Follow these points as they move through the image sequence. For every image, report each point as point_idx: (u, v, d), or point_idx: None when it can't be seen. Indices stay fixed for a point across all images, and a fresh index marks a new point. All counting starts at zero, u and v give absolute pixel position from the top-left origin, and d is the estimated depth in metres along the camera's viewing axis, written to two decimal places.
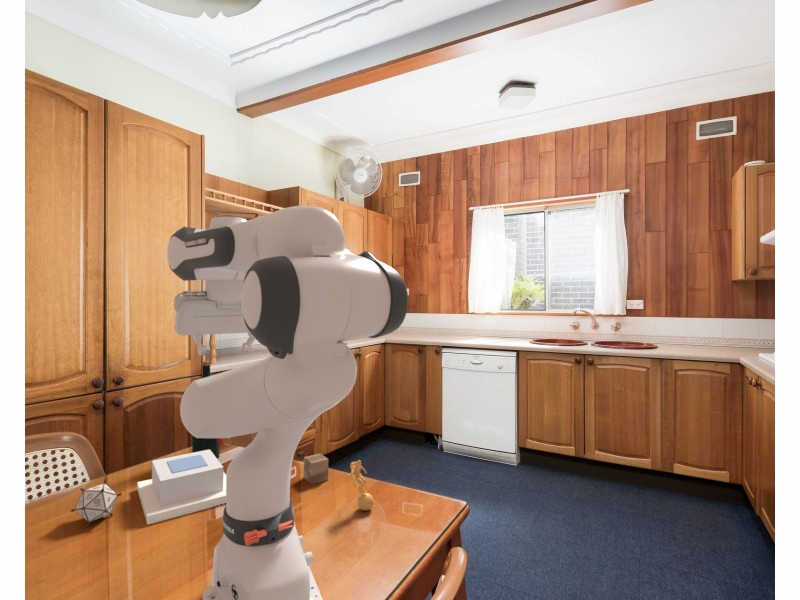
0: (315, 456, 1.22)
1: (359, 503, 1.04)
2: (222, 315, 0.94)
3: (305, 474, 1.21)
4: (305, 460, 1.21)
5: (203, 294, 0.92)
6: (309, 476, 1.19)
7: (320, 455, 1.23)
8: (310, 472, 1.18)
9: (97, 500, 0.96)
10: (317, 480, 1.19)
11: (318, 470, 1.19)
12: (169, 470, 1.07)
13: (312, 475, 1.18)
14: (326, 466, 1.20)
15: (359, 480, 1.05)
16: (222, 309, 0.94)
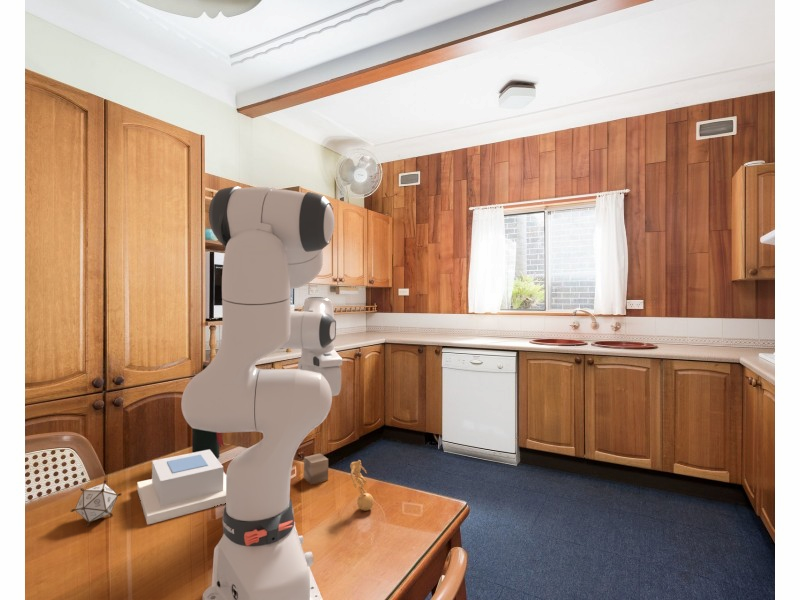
0: (315, 456, 1.22)
1: (359, 503, 1.04)
2: None
3: (305, 474, 1.21)
4: (305, 460, 1.21)
5: None
6: (309, 476, 1.19)
7: (320, 455, 1.23)
8: (310, 472, 1.18)
9: (97, 500, 0.96)
10: (317, 480, 1.19)
11: (318, 470, 1.19)
12: (169, 470, 1.07)
13: (312, 475, 1.18)
14: (326, 466, 1.20)
15: (359, 480, 1.05)
16: (310, 368, 1.20)
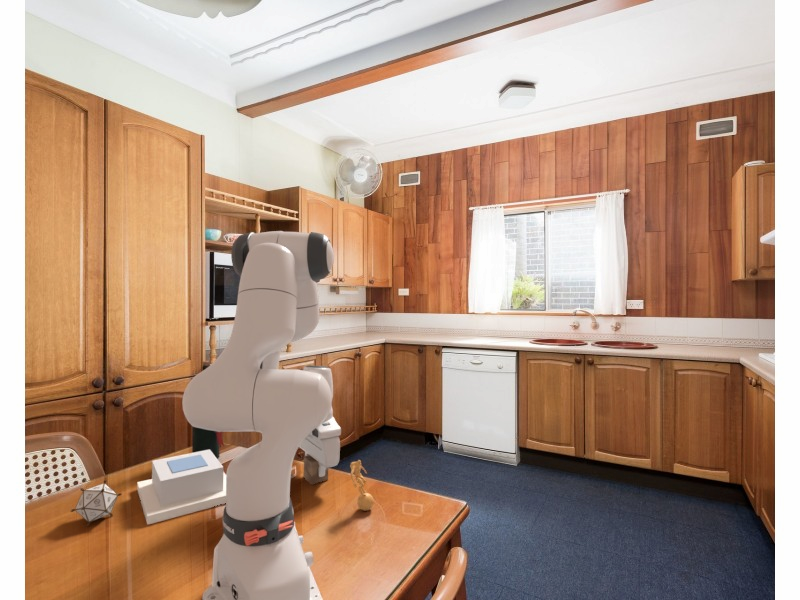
0: None
1: (359, 503, 1.04)
2: (309, 440, 1.21)
3: (305, 474, 1.21)
4: (305, 460, 1.21)
5: None
6: (309, 476, 1.19)
7: None
8: (310, 472, 1.18)
9: (97, 500, 0.96)
10: (317, 480, 1.19)
11: None
12: (169, 470, 1.07)
13: (312, 475, 1.18)
14: None
15: (359, 480, 1.05)
16: None
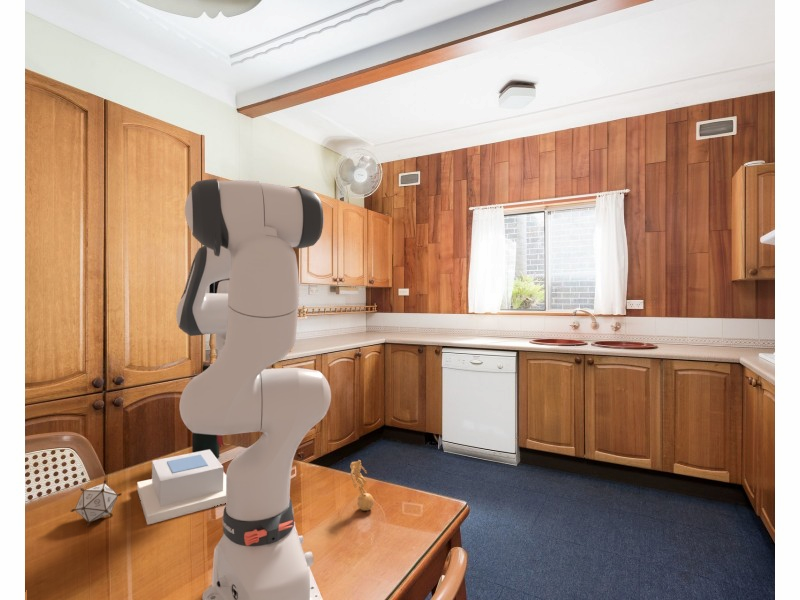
0: None
1: (359, 503, 1.04)
2: None
3: None
4: None
5: None
6: None
7: None
8: None
9: (97, 500, 0.96)
10: None
11: None
12: (169, 470, 1.07)
13: None
14: None
15: (359, 480, 1.05)
16: None
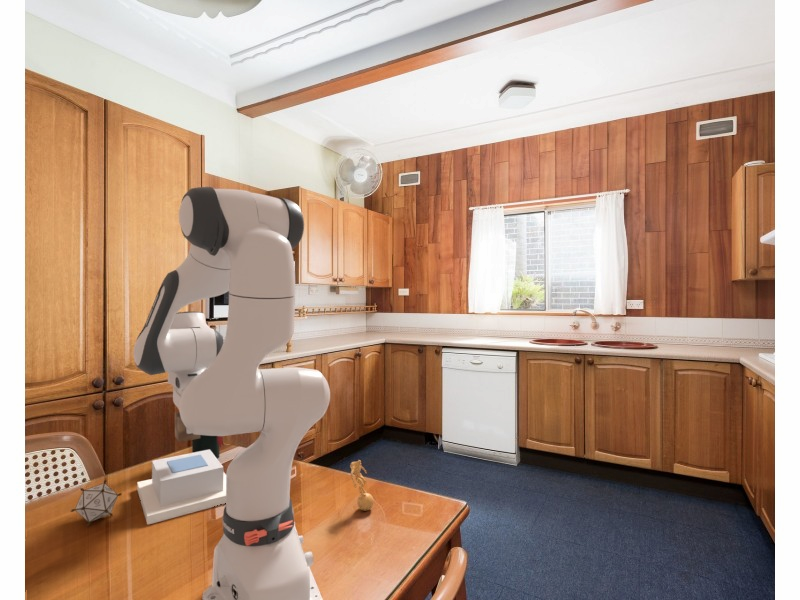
0: None
1: (359, 503, 1.04)
2: (180, 395, 1.10)
3: (175, 431, 1.10)
4: (175, 416, 1.10)
5: None
6: (177, 433, 1.08)
7: None
8: (178, 428, 1.07)
9: (97, 500, 0.96)
10: (186, 437, 1.08)
11: None
12: (169, 470, 1.07)
13: (180, 431, 1.07)
14: None
15: (359, 480, 1.05)
16: None
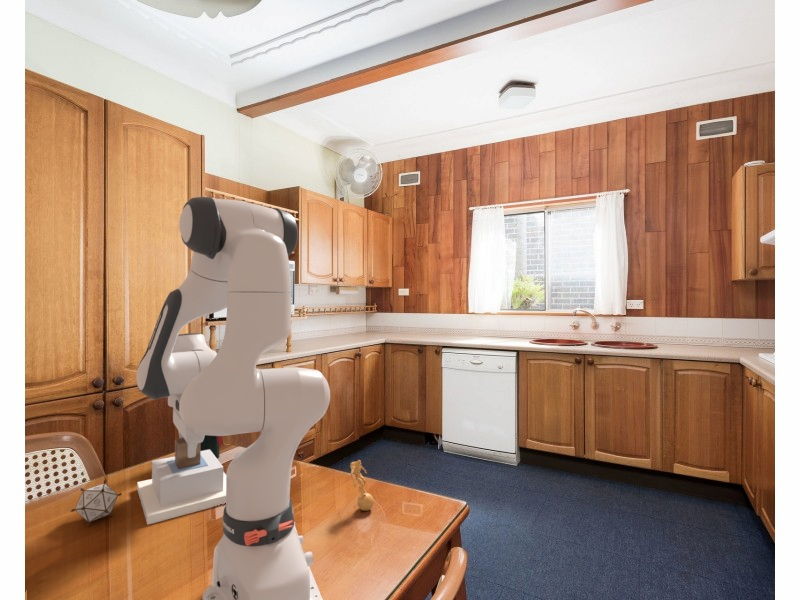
0: None
1: (359, 503, 1.04)
2: (179, 416, 1.10)
3: (175, 458, 1.10)
4: (175, 442, 1.10)
5: None
6: (177, 459, 1.08)
7: None
8: (178, 455, 1.08)
9: (97, 500, 0.96)
10: (186, 464, 1.08)
11: None
12: (169, 470, 1.07)
13: (180, 458, 1.07)
14: (198, 448, 1.10)
15: (359, 480, 1.05)
16: None
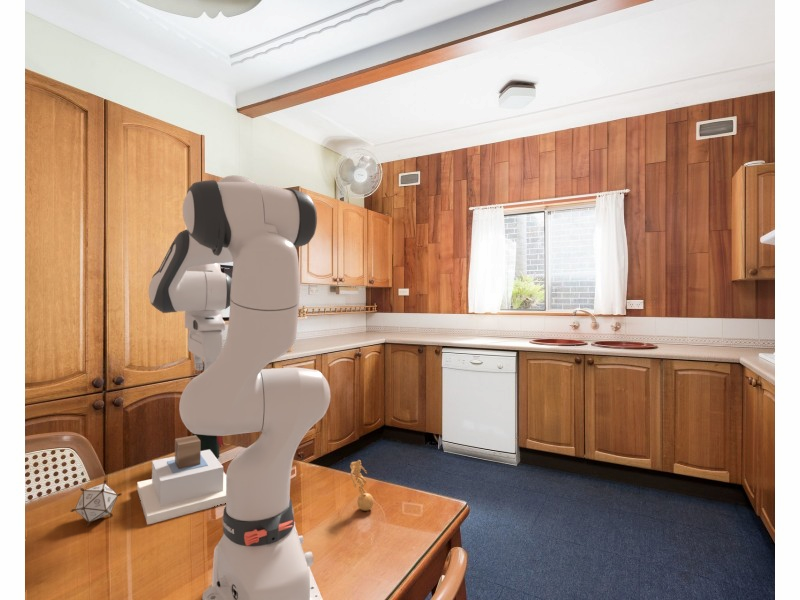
0: (188, 438, 1.12)
1: (359, 503, 1.04)
2: (196, 340, 1.14)
3: (175, 458, 1.10)
4: (175, 442, 1.10)
5: None
6: (177, 459, 1.08)
7: (194, 437, 1.12)
8: (178, 455, 1.08)
9: (97, 500, 0.96)
10: (186, 464, 1.08)
11: (187, 453, 1.08)
12: (169, 470, 1.07)
13: (180, 458, 1.07)
14: (198, 448, 1.10)
15: (359, 480, 1.05)
16: (195, 335, 1.14)
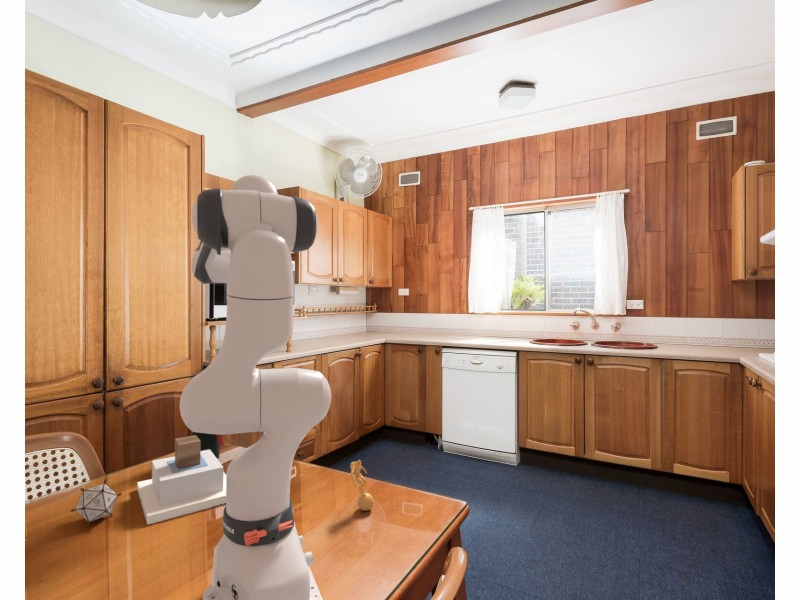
0: (188, 438, 1.12)
1: (359, 503, 1.04)
2: None
3: (175, 458, 1.10)
4: (175, 442, 1.10)
5: None
6: (177, 459, 1.08)
7: (194, 437, 1.12)
8: (178, 455, 1.08)
9: (97, 500, 0.96)
10: (186, 464, 1.08)
11: (187, 453, 1.08)
12: (169, 470, 1.07)
13: (180, 458, 1.07)
14: (198, 448, 1.10)
15: (359, 480, 1.05)
16: None
